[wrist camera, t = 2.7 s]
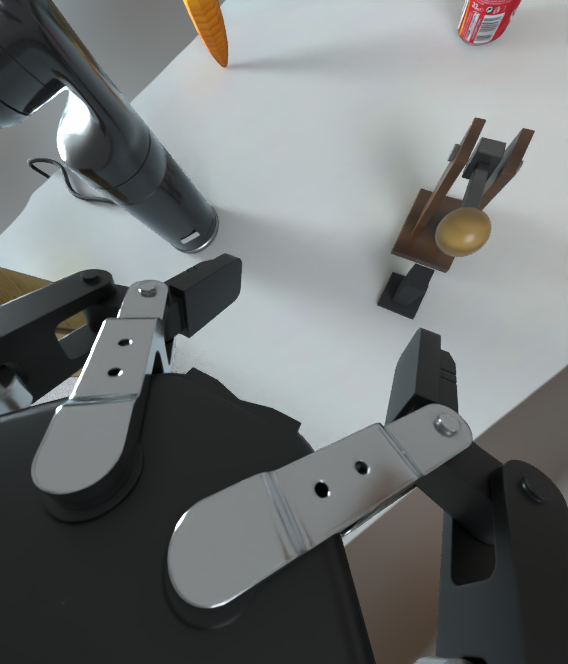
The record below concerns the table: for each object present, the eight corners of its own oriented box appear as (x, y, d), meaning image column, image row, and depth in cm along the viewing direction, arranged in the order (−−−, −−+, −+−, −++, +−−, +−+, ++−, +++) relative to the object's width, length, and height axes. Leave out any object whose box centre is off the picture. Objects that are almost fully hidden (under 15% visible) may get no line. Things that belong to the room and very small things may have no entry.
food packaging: (60, 329, 49) (-208, 294, 25) (93, 290, 49) (-147, 216, 25) (103, 379, 46) (-156, 394, 22) (138, 338, 46) (-85, 308, 22)
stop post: (377, 305, 39) (388, 289, 31) (392, 273, 39) (407, 249, 31) (412, 319, 38) (433, 307, 30) (427, 286, 38) (452, 265, 30)
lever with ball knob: (467, 272, 21) (500, 236, 18) (422, 256, 22) (445, 219, 19) (492, 176, 27) (520, 137, 24) (456, 167, 28) (478, 127, 25)
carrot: (211, 60, 50) (160, -65, 36) (235, 50, 49) (194, -82, 35) (214, 82, 49) (164, -36, 35) (240, 73, 49) (199, -53, 34)
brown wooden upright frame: (445, 272, 38) (520, 210, 23) (390, 253, 40) (425, 182, 24) (474, 210, 38) (567, 105, 23) (418, 193, 40) (470, 86, 25)
